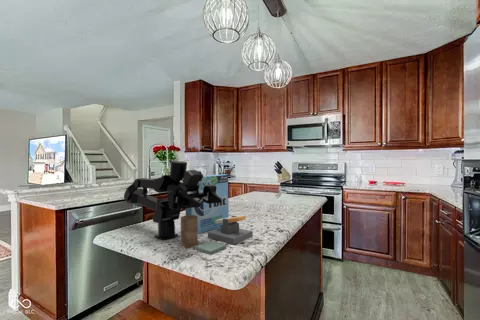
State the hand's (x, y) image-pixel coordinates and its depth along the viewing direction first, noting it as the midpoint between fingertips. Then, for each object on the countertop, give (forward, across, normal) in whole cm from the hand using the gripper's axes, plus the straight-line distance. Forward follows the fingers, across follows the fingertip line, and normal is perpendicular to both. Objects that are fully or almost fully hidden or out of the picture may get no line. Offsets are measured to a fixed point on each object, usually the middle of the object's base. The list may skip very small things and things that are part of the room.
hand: (211, 202), depth 76 cm
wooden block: (-7, -1, +17) cm, 19 cm away
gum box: (-16, +17, +19) cm, 30 cm away
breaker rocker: (-3, +14, +10) cm, 17 cm away
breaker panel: (-2, +14, +16) cm, 21 cm away
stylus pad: (+1, +1, +16) cm, 16 cm away
